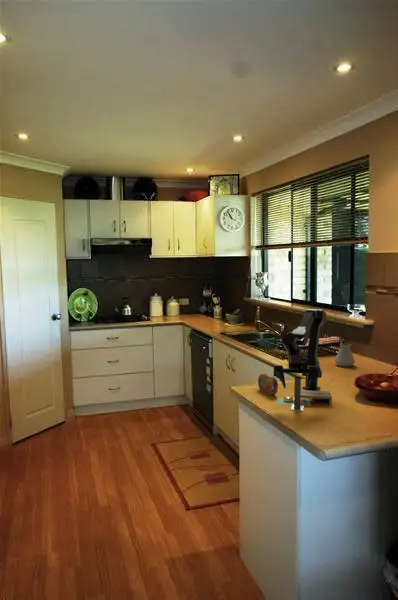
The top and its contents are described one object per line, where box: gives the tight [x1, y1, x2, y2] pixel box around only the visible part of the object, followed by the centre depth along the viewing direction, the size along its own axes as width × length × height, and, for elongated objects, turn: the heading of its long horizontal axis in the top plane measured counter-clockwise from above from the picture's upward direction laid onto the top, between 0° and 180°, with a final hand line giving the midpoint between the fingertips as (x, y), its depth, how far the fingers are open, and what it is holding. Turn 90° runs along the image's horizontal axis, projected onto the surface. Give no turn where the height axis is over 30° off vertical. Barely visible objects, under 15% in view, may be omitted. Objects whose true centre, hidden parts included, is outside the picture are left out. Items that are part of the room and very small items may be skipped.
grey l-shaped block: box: [290, 376, 307, 412], centre depth 200 cm, size 15×5×14 cm, turn 163°
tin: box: [257, 373, 279, 396], centre depth 220 cm, size 15×3×8 cm, turn 21°
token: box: [283, 395, 294, 402], centre depth 207 cm, size 4×4×2 cm
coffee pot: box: [334, 336, 356, 367], centre depth 279 cm, size 21×12×15 cm, turn 176°
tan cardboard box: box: [301, 389, 333, 406], centre depth 206 cm, size 8×15×4 cm, turn 82°
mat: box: [276, 397, 312, 407], centre depth 206 cm, size 9×14×1 cm, turn 82°
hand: (296, 388), depth 194 cm, fingers open, 9 cm apart
